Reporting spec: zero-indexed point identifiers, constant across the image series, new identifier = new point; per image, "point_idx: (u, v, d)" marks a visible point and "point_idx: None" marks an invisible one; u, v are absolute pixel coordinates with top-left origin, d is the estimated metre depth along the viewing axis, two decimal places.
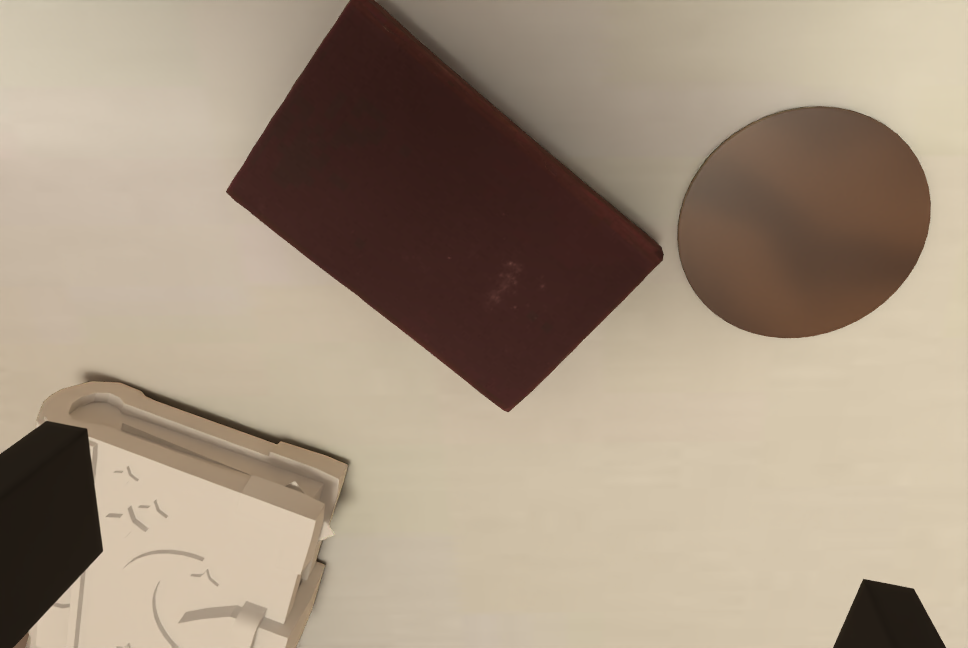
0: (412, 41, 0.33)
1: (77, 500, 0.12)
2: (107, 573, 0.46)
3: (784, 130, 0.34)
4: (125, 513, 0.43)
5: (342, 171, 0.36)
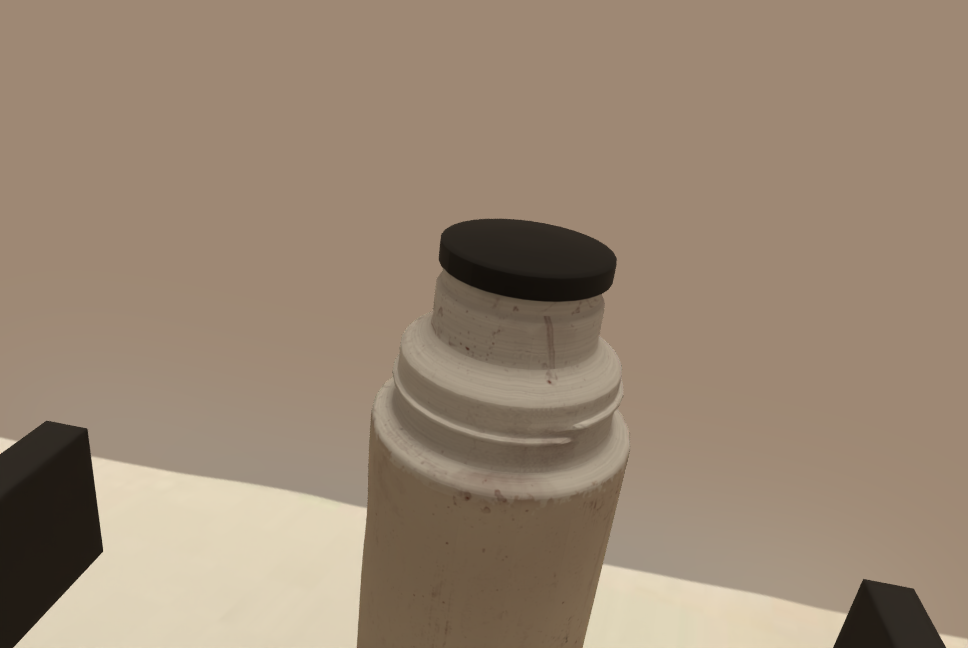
0: None
1: (77, 500, 0.12)
2: None
3: None
4: None
5: None
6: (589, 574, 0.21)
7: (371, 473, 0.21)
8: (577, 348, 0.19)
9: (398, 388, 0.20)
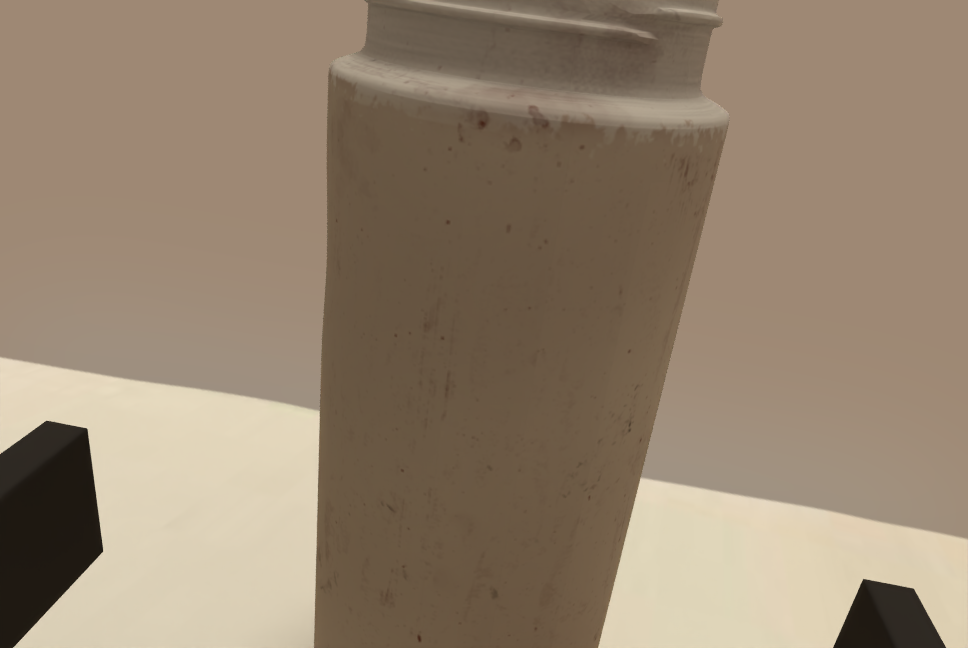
0: None
1: (77, 500, 0.12)
2: None
3: None
4: None
5: None
6: (667, 315, 0.14)
7: (329, 161, 0.14)
8: None
9: None
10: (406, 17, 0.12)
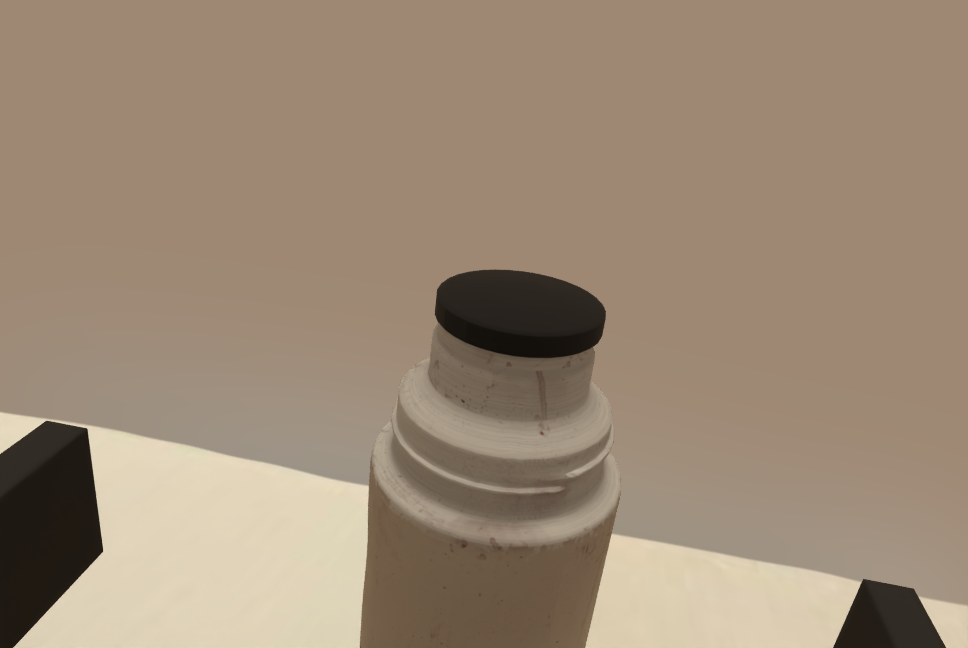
0: None
1: (77, 500, 0.12)
2: None
3: None
4: None
5: None
6: (582, 613, 0.22)
7: (371, 517, 0.22)
8: (568, 399, 0.20)
9: (396, 437, 0.21)
10: (420, 466, 0.20)
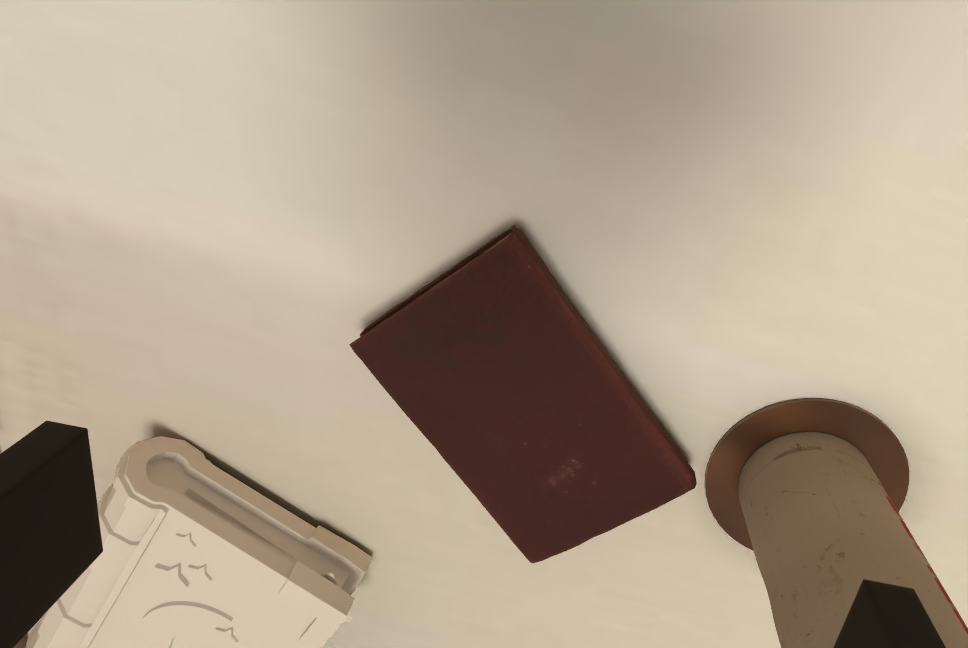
0: (547, 281, 0.40)
1: (77, 500, 0.12)
2: (136, 607, 0.50)
3: (816, 413, 0.43)
4: (174, 569, 0.48)
5: (457, 358, 0.42)
6: None
7: None
8: None
9: None
10: None
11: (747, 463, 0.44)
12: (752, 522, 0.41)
